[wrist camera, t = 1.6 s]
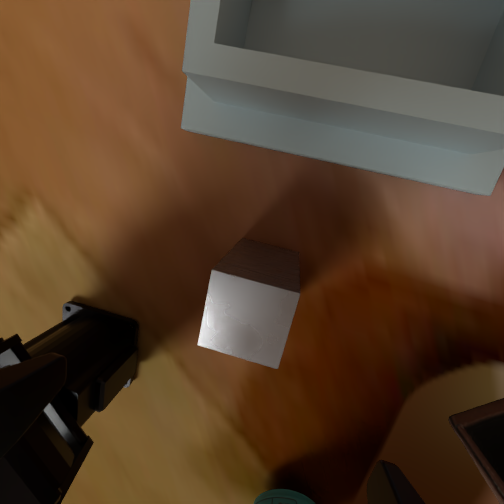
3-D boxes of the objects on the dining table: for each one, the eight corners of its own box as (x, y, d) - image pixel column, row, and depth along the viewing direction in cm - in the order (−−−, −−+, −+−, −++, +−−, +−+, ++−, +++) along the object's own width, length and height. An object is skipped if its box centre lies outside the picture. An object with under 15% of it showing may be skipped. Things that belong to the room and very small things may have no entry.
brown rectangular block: (231, 289, 20) (197, 345, 13) (242, 237, 18) (211, 269, 12) (284, 304, 19) (277, 369, 13) (299, 252, 18) (300, 293, 11)
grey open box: (187, 131, 17) (139, 108, 12) (221, -115, 14) (173, -297, 9) (478, 194, 15) (571, 201, 10) (599, -69, 12) (832, -263, 7)
